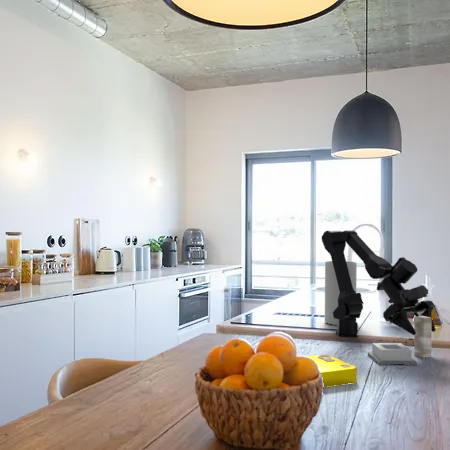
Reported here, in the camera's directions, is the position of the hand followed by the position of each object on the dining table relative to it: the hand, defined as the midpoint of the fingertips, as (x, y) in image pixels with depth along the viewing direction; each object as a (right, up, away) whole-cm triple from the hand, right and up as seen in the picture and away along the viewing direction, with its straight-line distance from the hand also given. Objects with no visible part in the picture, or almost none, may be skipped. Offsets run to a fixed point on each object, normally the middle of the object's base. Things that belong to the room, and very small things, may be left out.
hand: (424, 332), depth 157 cm
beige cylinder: (0, -7, +1) cm, 7 cm away
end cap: (-12, -7, -4) cm, 15 cm away
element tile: (-37, -8, -22) cm, 44 cm away
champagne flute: (+6, -7, +56) cm, 57 cm away
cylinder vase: (-15, -7, +51) cm, 53 cm away
